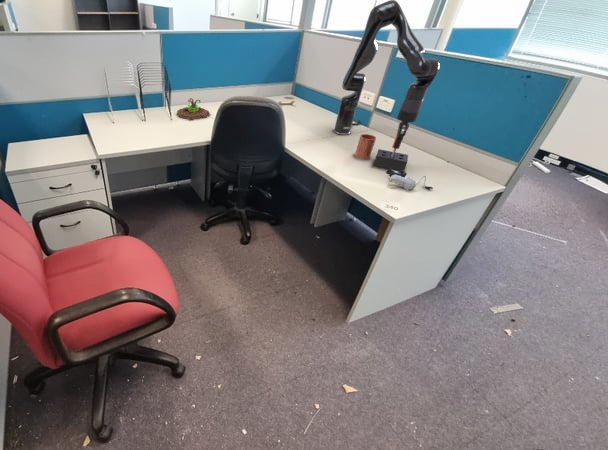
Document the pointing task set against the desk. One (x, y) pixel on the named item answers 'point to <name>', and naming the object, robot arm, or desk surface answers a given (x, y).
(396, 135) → the orange cylinder rod
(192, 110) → the plant
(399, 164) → the holder
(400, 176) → the clip-on lamp
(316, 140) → the desk surface
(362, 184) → the desk surface
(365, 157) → the pen cup
